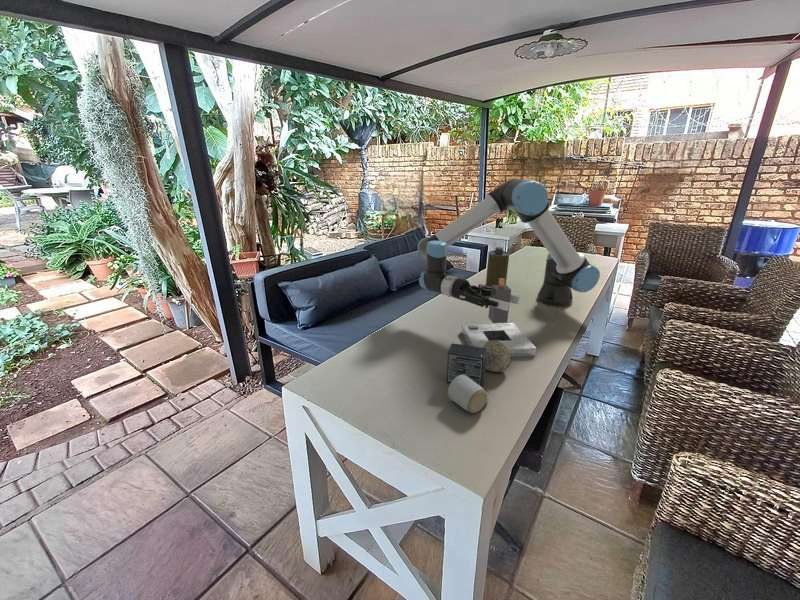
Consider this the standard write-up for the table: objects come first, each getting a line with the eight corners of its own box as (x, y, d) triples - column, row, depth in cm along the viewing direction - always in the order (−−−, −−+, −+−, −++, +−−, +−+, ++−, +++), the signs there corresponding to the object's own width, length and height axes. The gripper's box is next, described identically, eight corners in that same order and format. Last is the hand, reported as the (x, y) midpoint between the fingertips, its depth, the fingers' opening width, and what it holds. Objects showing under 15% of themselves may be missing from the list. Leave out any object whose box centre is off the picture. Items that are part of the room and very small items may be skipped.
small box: (484, 378, 111) (487, 347, 107) (482, 390, 105) (485, 358, 101) (450, 371, 114) (451, 341, 110) (445, 383, 108) (447, 352, 104)
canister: (508, 289, 184) (512, 250, 177) (487, 289, 185) (491, 250, 177) (503, 282, 195) (507, 245, 187) (483, 282, 195) (486, 245, 188)
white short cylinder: (468, 419, 93) (470, 394, 90) (446, 403, 99) (447, 378, 96) (495, 404, 99) (499, 380, 96) (473, 390, 105) (475, 366, 102)
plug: (502, 316, 130) (506, 276, 125) (507, 322, 126) (512, 281, 120) (488, 317, 130) (492, 276, 125) (492, 323, 125) (497, 281, 120)
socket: (512, 329, 141) (513, 321, 140) (535, 355, 123) (536, 346, 121) (461, 331, 140) (462, 323, 138) (476, 358, 121) (477, 349, 120)
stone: (483, 360, 120) (485, 333, 116) (511, 371, 114) (515, 342, 111) (473, 368, 115) (476, 340, 112) (502, 379, 110) (506, 350, 106)
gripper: (469, 290, 145) (525, 305, 130) (439, 304, 131) (497, 323, 116) (471, 272, 142) (528, 285, 127) (440, 284, 128) (500, 301, 114)
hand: (513, 303), depth 122 cm, fingers closed on plug, 7 cm apart
